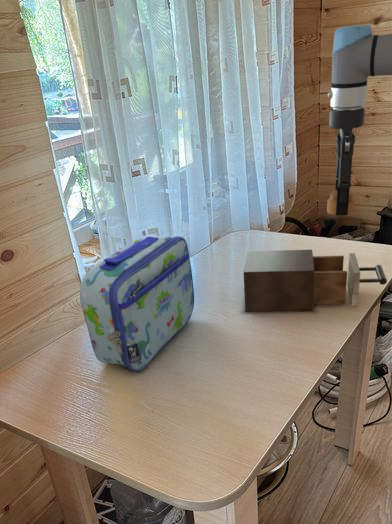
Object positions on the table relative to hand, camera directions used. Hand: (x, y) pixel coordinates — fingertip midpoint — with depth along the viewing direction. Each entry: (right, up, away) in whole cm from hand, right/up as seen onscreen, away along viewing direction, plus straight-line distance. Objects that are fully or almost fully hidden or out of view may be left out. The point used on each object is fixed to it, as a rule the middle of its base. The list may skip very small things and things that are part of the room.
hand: (340, 210), depth 126 cm
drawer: (-4, -22, -12) cm, 25 cm away
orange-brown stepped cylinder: (0, 0, 0) cm, 0 cm away
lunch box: (-45, -33, -20) cm, 59 cm away
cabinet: (-17, -23, -9) cm, 30 cm away
